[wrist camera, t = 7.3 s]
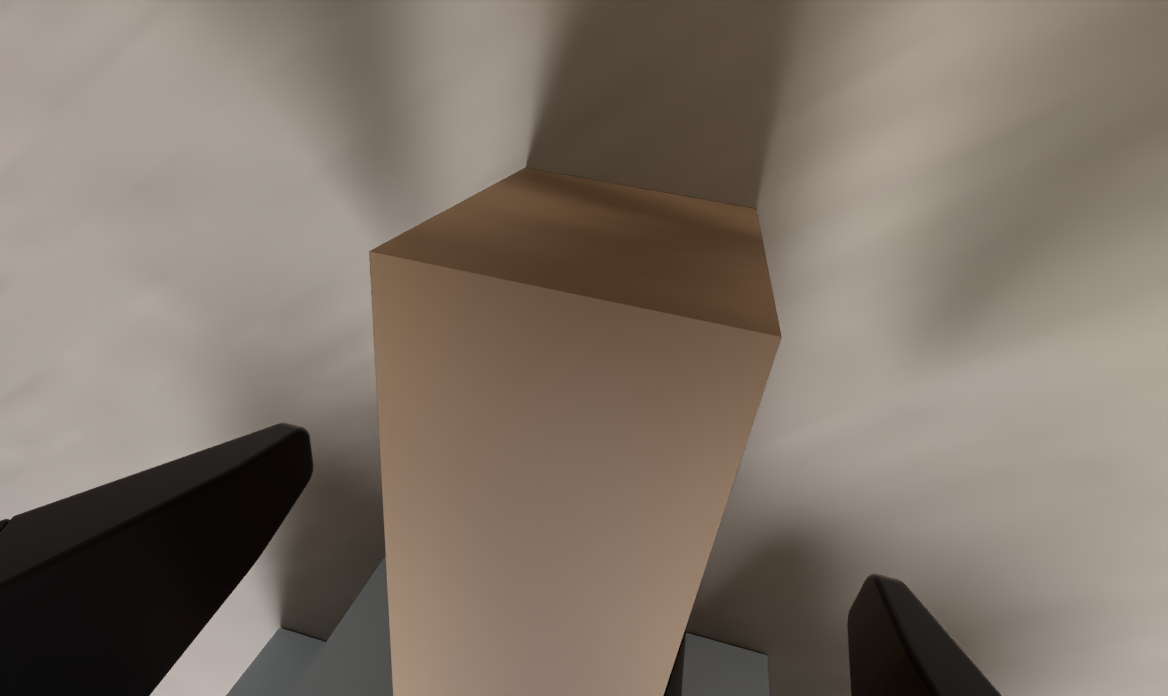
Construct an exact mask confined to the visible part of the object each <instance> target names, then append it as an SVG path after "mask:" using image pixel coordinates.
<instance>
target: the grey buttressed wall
mask: <svg viewBox="0 0 1168 696" xmlns="http://www.w3.org/2000/svg"><path fill="white" fill-rule="evenodd" d="M226 696H393V681H392V663H391V644H390V626H389V607H388V589H387V570H386V556H385V557H384V559H383V560H382V561H381V563H380V564H379V566H378V567H377V569H376V570H375V572H374V573H373V575H372V576H371V577H370V579H369V580H368V582H367V583H366V585H365V586H364V588H363V589H362V591H361V592H360V593H359V595H358V596H357V598H356V599H355V601H354V602H353V604H352V605H351V607H350V608H349V610H348V611H347V612H346V614H345V615H344V617H343V618H342V620H341V621H340V623H339V624H338V626H337V627H336V628H335V630H334V631H333V633H332V634H331V636H330V637H329V639H328V640H327V642H324V641H321V640H318V639H315V638H312V637H308V636H305V635H302V634H299V633H295V632H292V631H289V630H286V629H282V628H279V629H278V630H277V632H276V633H275V634H274V635H273V637H272V638H271V639H270V641H269V642H268V643H267V644H266V646H265V647H264V648H263V649H262V651H261V652H260V653H259V655H258V656H257V657H256V658H255V660H254V661H253V662H252V663H251V665H250V666H249V667H248V669H247V670H246V671H245V672H244V674H243V675H242V676H241V677H240V679H239V680H238V681H237V683H236V684H235V685H234V686H233V688H232V689H231V690H230V691H229V693H228V694H227V695H226ZM665 696H770V690H769V675H768V661H767V655H764V654H760V653H757V652H753V651H750V650H746V649H743V648H739V647H735V646H732V645H728V644H725V643H721V642H718V641H714V640H711V639H707V638H703V637H700V636H696V635H693V634H689V633H686V634H685V637H684V640H683V643H682V646H681V649H680V652H679V655H678V658H677V661H676V664H675V667H674V670H673V673H672V676H671V679H670V683H669V686H668V689H667V692H666V695H665Z"/></svg>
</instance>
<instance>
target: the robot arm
mask: <svg viewBox="0 0 1168 696" xmlns="http://www.w3.org/2000/svg"><path fill="white" fill-rule="evenodd" d="M312 472H313V459H312V451H311V444H310V436H309V433H308V431H307V430H306V429H304V428H303V427H299V426H295V425H291V424H287V423H280V424H277V425H274V426H271V427H268V428H266V429H263V430H260V431H257V432H254V433H251V434H248V435H245V436H243V437H240V438H237V439H234V440H231V441H228V442H225V443H223V444H220V445H217V446H214V447H211V448H208V449H205V450H202V451H200V452H197V453H194V454H191V455H188V456H185V457H182V458H179V459H177V460H174V461H171V462H168V463H165V464H162V465H159V466H157V467H154V468H151V469H148V470H145V471H142V472H139V473H136V474H134V475H131V476H128V477H125V478H122V479H119V480H116V481H113V482H111V483H108V484H105V485H102V486H99V487H96V488H93V489H91V490H88V491H85V492H82V493H79V494H76V495H73V496H70V497H68V498H65V499H62V500H59V501H56V502H53V503H50V504H47V505H45V506H42V507H39V508H36V509H33V510H30V511H27V512H25V513H22V514H19V515H16V516H14V517H13V518H12V519H11V520H9V519H4V520H1V521H0V696H149V695H150V694H151V693H152V692H153V690H154V689H155V688H156V687H157V685H158V684H159V683H160V682H161V680H162V679H163V678H164V677H165V675H166V674H167V673H168V672H169V670H170V669H171V668H172V667H173V665H174V664H175V663H176V662H177V660H178V659H179V658H180V657H181V655H182V654H183V653H184V652H185V650H186V649H187V648H188V647H189V645H190V644H191V643H192V642H193V640H194V639H195V638H196V637H197V635H198V634H199V633H200V632H201V630H202V629H203V628H204V627H205V625H206V624H207V623H208V622H209V620H210V619H211V618H212V617H213V615H214V614H215V613H216V611H217V610H218V609H219V608H220V606H221V605H222V604H223V603H224V601H225V600H226V599H227V598H228V596H229V595H230V594H231V593H232V591H233V590H234V589H235V588H236V586H237V585H238V584H239V583H240V581H241V580H242V579H243V578H244V576H245V575H246V574H247V573H248V571H249V570H250V569H251V567H252V566H253V565H254V563H255V562H256V561H257V560H258V558H259V557H260V555H261V554H262V552H263V551H264V550H265V548H266V547H267V545H268V544H269V542H270V541H271V539H272V537H273V536H274V534H275V533H276V531H277V530H278V528H279V527H280V525H281V524H282V522H283V521H284V519H285V517H286V516H287V514H288V513H289V511H290V510H291V508H292V507H293V505H294V504H295V502H296V501H297V499H298V497H299V496H300V494H301V493H302V491H303V490H304V488H305V487H306V485H307V484H308V482H309V480H310V478H311V476H312ZM848 644H849V662H850V680H851V696H1001V694H1000V693H999V692H998V691H997V690H996V689H995V687H994V686H993V685H992V684H991V683H990V682H989V681H988V679H987V678H986V677H985V676H984V675H983V674H982V672H981V671H980V670H979V669H978V668H977V667H976V666H975V664H974V663H973V662H972V661H971V660H970V659H969V657H968V656H967V655H966V654H965V653H964V652H963V651H962V649H961V648H960V647H959V646H958V645H957V644H956V642H955V641H954V640H953V639H952V638H951V637H950V636H949V634H948V633H947V632H946V631H945V630H944V629H943V627H942V626H941V625H940V624H939V623H938V622H937V621H936V619H935V618H934V617H933V616H932V615H931V614H930V612H929V611H928V610H927V609H926V608H925V607H924V606H923V604H922V603H921V602H920V601H919V600H918V599H917V597H916V596H915V595H914V594H913V593H912V592H911V591H910V589H909V588H908V587H907V586H906V585H905V584H904V583H903V582H901V581H900V580H897V579H894V578H890V577H886V576H882V575H878V574H872V575H870V576H868V577H867V579H866V580H865V582H864V584H863V586H862V588H861V590H860V592H859V593H858V595H857V597H856V599H855V601H854V603H853V605H852V607H851V609H850V612H849V615H848Z"/></svg>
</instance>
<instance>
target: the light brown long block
mask: <svg viewBox="0 0 1168 696" xmlns="http://www.w3.org/2000/svg"><path fill="white" fill-rule="evenodd" d="M369 257H370V275H371V294H372V312H373V330H374V349H375V367H376V386H377V404H378V423H379V441H380V460H381V478H382V497H383V515H384V534H385V552H386V570H387V589H388V607H389V626H390V644H391V663H392V681H393V696H663V695H664V692H665V689H666V686H667V683H668V680H669V677H670V674H671V671H672V668H673V665H674V662H675V659H676V656H677V653H678V650H679V647H680V644H681V641H682V638H683V634H684V631H685V628H686V625H687V622H688V619H689V616H690V613H691V610H692V607H693V604H694V601H695V598H696V595H697V592H698V589H699V586H700V583H701V580H702V577H703V574H704V571H705V568H706V565H707V562H708V559H709V555H710V552H711V549H712V546H713V543H714V540H715V537H716V534H717V531H718V528H719V525H720V522H721V519H722V516H723V513H724V510H725V507H726V504H727V501H728V498H729V495H730V492H731V489H732V486H733V483H734V480H735V476H736V473H737V470H738V467H739V464H740V461H741V458H742V455H743V452H744V449H745V446H746V443H747V440H748V437H749V434H750V431H751V428H752V425H753V422H754V419H755V416H756V413H757V410H758V407H759V404H760V401H761V397H762V394H763V391H764V388H765V385H766V382H767V379H768V376H769V373H770V370H771V367H772V364H773V361H774V358H775V355H776V352H777V349H778V346H779V343H780V340H781V332H780V327H779V322H778V317H777V312H776V307H775V302H774V297H773V292H772V287H771V281H770V276H769V271H768V266H767V261H766V256H765V251H764V246H763V241H762V236H761V230H760V225H759V220H758V215H757V210H756V209H754V208H748V207H742V206H737V205H731V204H726V203H720V202H715V201H709V200H703V199H698V198H692V197H687V196H681V195H675V194H670V193H664V192H659V191H653V190H648V189H642V188H636V187H631V186H625V185H620V184H614V183H608V182H603V181H597V180H592V179H586V178H580V177H575V176H569V175H564V174H558V173H553V172H547V171H541V170H536V169H530V168H524V169H522V170H520V171H518V172H517V173H515V174H513V175H511V176H509V177H507V178H505V179H503V180H502V181H500V182H498V183H496V184H494V185H492V186H490V187H489V188H487V189H485V190H483V191H481V192H479V193H477V194H475V195H474V196H472V197H470V198H468V199H466V200H464V201H462V202H461V203H459V204H457V205H455V206H453V207H451V208H449V209H447V210H446V211H444V212H442V213H440V214H438V215H436V216H434V217H432V218H431V219H429V220H427V221H425V222H423V223H421V224H419V225H418V226H416V227H414V228H412V229H410V230H408V231H406V232H404V233H403V234H401V235H399V236H397V237H395V238H393V239H391V240H390V241H388V242H386V243H384V244H382V245H380V246H378V247H376V248H375V249H373V250H371V251H369Z"/></svg>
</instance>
